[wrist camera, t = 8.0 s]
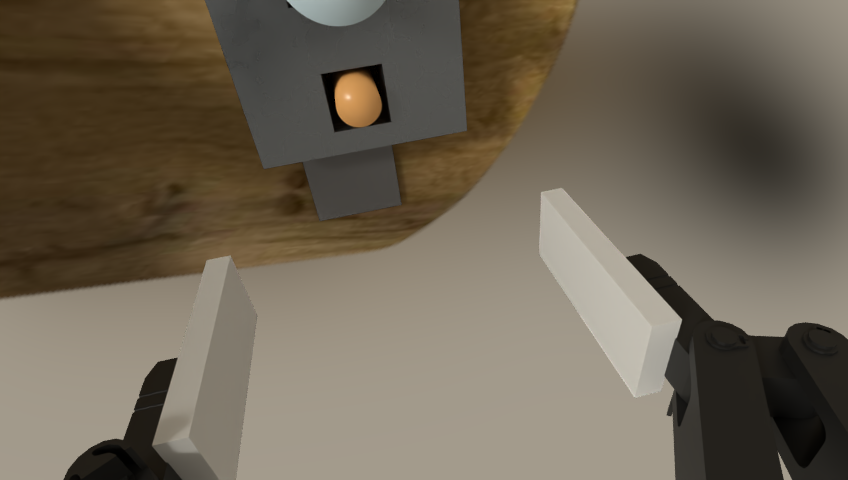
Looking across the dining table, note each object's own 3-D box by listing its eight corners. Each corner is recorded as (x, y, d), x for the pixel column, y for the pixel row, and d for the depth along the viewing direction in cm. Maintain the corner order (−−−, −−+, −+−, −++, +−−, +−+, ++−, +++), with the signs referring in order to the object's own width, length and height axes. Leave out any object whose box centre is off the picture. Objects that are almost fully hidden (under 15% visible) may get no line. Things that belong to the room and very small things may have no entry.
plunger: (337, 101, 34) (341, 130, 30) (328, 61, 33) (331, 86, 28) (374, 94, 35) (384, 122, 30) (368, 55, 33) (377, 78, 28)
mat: (319, 217, 40) (319, 221, 40) (297, 141, 36) (297, 144, 35) (400, 201, 41) (401, 204, 40) (387, 124, 37) (388, 127, 36)
